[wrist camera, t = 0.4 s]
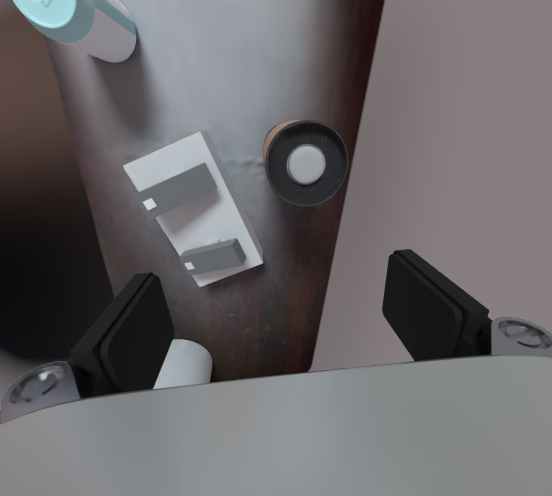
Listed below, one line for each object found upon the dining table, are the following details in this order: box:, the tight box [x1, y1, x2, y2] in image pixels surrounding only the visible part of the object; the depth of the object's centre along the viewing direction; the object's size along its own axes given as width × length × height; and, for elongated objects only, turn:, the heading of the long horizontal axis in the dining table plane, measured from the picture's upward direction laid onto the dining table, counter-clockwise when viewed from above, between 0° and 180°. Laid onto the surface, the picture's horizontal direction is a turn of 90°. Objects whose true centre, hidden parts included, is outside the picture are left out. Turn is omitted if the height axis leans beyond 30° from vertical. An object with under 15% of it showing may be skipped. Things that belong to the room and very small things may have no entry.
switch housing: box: [123, 131, 263, 287], centre depth 42 cm, size 22×12×6 cm, turn 21°
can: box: [13, 0, 136, 63], centre depth 28 cm, size 7×7×12 cm
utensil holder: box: [153, 339, 212, 389], centre depth 52 cm, size 15×15×18 cm
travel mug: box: [263, 120, 348, 207], centre depth 32 cm, size 8×8×20 cm
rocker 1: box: [133, 163, 218, 220], centre depth 35 cm, size 4×10×2 cm, turn 111°
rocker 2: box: [178, 238, 247, 276], centre depth 40 cm, size 4×10×2 cm, turn 111°
